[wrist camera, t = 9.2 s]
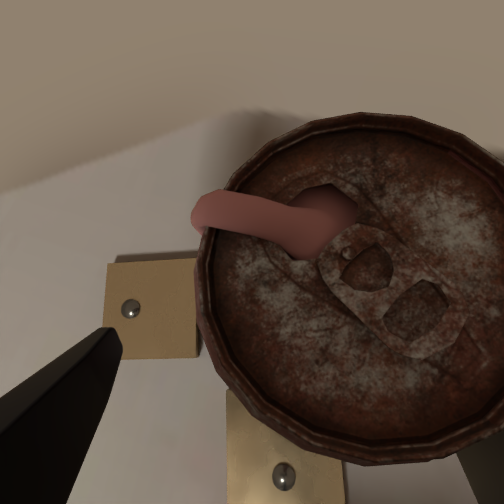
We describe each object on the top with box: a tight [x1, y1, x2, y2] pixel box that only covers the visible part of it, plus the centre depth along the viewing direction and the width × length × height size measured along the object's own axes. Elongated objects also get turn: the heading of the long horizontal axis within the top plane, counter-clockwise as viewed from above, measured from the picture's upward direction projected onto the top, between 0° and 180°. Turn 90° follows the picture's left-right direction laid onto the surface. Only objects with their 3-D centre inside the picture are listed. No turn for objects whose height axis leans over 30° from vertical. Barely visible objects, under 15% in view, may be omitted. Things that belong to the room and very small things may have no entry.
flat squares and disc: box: [102, 258, 345, 504], centre depth 19 cm, size 15×15×1 cm
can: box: [191, 112, 504, 467], centre depth 12 cm, size 6×6×14 cm
